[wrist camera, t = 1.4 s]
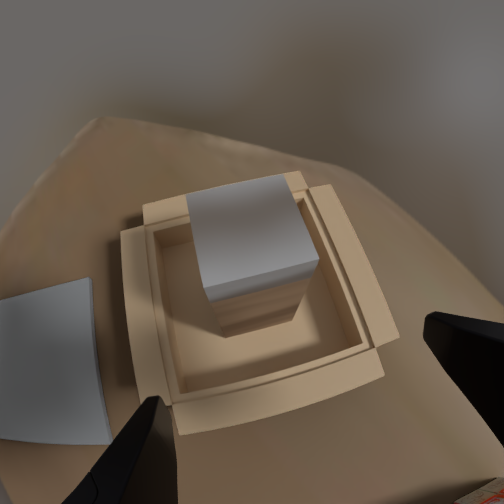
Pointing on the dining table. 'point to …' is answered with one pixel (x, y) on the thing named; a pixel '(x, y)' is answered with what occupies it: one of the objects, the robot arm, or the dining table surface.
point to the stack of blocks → (485, 494)
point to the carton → (256, 342)
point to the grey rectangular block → (251, 252)
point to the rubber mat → (51, 368)
